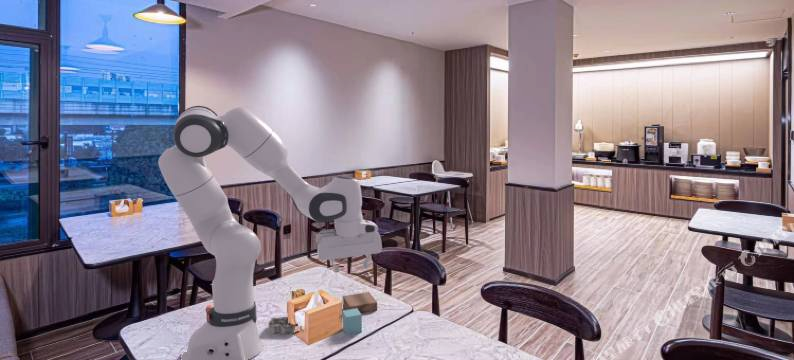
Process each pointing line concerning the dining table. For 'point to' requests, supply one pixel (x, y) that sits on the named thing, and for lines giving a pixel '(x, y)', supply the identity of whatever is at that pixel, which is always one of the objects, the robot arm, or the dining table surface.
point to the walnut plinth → (360, 302)
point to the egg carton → (280, 325)
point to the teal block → (352, 321)
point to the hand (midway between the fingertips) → (350, 269)
